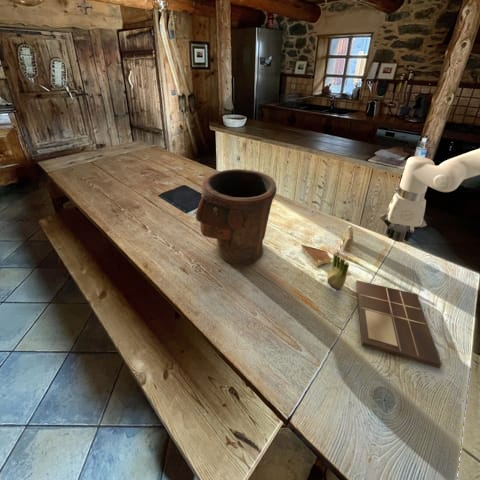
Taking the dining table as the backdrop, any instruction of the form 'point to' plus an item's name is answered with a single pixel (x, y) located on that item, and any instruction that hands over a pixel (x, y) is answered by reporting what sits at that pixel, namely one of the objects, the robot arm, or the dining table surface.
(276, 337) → the dining table surface
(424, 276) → the dining table surface
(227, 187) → the clay pot
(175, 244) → the dining table surface
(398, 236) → the slate stone
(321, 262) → the shard
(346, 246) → the tan figurine
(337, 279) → the fennel bulb
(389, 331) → the game board
